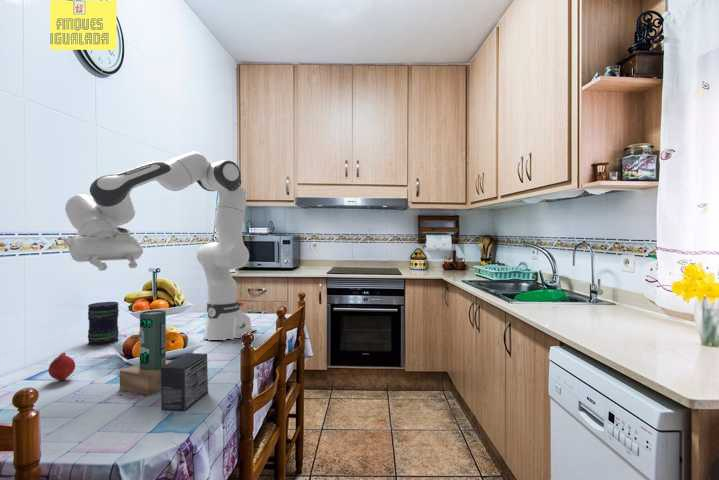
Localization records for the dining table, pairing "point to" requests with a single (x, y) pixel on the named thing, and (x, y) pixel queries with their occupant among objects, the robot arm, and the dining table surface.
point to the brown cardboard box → (141, 380)
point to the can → (152, 339)
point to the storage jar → (103, 323)
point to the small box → (184, 382)
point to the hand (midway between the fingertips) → (119, 267)
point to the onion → (61, 367)
